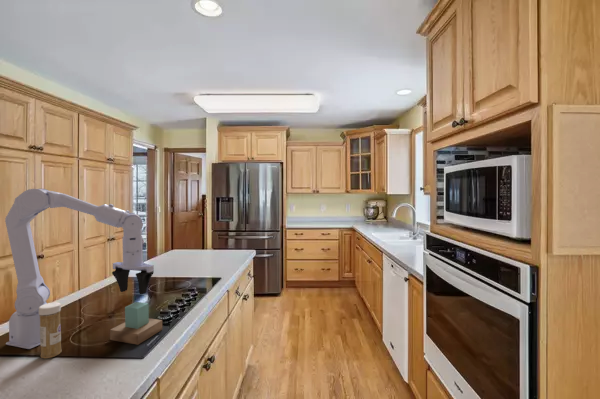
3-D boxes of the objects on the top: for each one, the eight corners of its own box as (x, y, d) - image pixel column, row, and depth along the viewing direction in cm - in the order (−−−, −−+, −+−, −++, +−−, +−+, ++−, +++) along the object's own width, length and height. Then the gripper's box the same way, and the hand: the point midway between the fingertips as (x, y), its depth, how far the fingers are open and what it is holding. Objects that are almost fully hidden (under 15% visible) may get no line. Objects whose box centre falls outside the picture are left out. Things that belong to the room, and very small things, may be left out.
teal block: (125, 326, 95) (124, 307, 95) (136, 320, 99) (136, 301, 99) (137, 328, 94) (137, 308, 94) (148, 322, 98) (148, 303, 98)
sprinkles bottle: (61, 356, 84) (59, 305, 84) (38, 361, 82) (37, 309, 81) (62, 348, 88) (61, 300, 88) (41, 353, 86) (39, 303, 85)
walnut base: (110, 339, 93) (109, 329, 93) (136, 325, 103) (136, 316, 103) (138, 344, 90) (137, 334, 90) (162, 329, 100) (162, 320, 100)
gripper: (160, 249, 105) (160, 290, 106) (124, 247, 109) (125, 286, 110) (144, 254, 98) (144, 297, 99) (106, 251, 102) (107, 292, 103)
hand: (133, 292), depth 104 cm, fingers open, 7 cm apart
